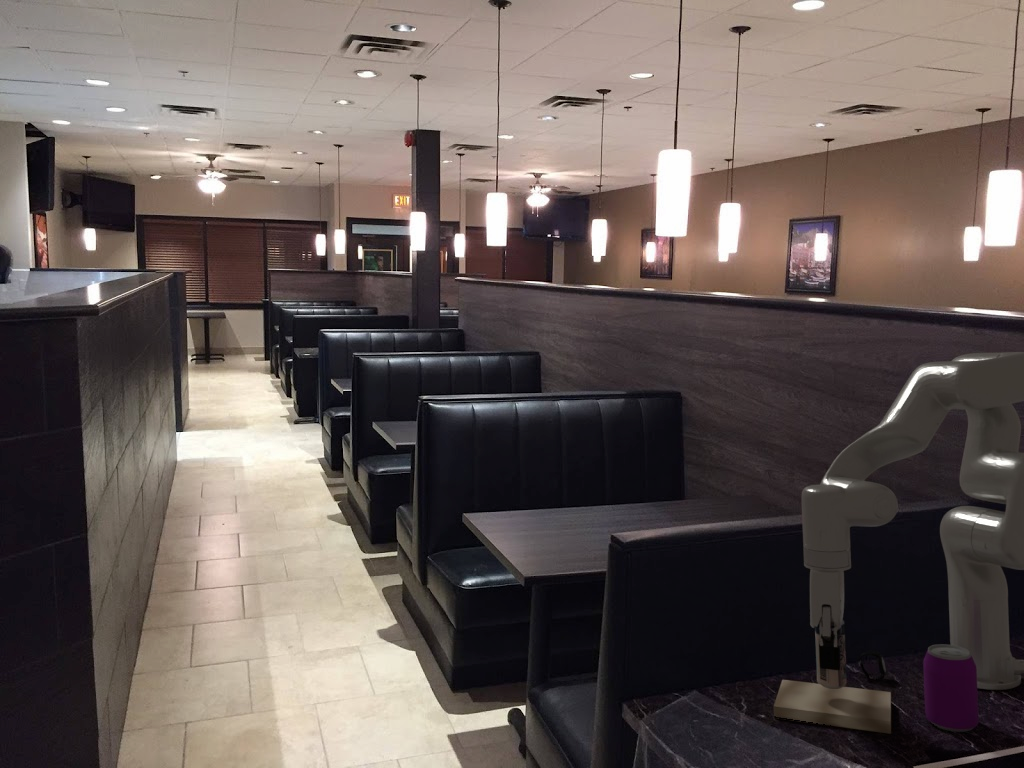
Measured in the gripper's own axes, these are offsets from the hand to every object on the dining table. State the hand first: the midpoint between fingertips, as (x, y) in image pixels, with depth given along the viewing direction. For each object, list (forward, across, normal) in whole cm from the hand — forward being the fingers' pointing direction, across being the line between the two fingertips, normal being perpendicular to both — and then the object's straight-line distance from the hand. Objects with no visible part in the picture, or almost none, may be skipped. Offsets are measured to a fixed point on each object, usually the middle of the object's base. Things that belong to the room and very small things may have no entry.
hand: (831, 661), depth 138 cm
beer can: (+4, 0, 0) cm, 4 cm away
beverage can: (+9, -1, +18) cm, 20 cm away
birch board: (+8, 0, 0) cm, 8 cm away
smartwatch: (+9, -17, +6) cm, 20 cm away
